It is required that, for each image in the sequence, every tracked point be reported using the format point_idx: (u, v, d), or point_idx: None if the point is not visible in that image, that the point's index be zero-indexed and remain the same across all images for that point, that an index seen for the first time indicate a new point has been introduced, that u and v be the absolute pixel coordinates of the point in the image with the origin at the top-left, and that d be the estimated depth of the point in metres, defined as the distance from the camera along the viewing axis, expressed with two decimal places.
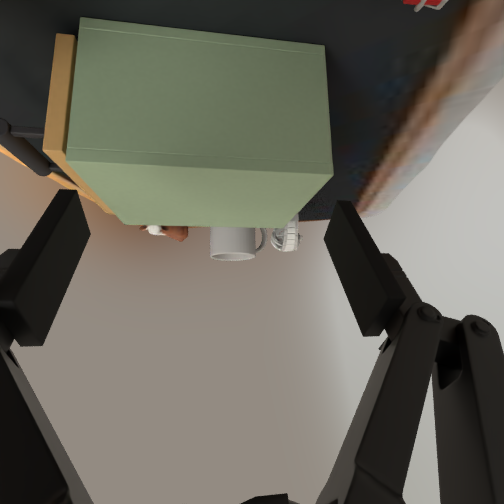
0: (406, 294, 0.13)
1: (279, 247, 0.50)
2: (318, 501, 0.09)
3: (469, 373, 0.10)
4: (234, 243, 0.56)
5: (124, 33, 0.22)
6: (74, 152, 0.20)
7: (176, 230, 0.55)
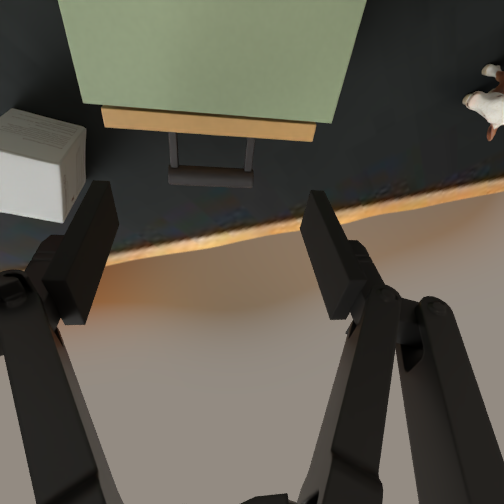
0: (370, 278, 0.13)
1: None
2: (301, 493, 0.09)
3: (430, 354, 0.10)
4: None
5: None
6: None
7: None
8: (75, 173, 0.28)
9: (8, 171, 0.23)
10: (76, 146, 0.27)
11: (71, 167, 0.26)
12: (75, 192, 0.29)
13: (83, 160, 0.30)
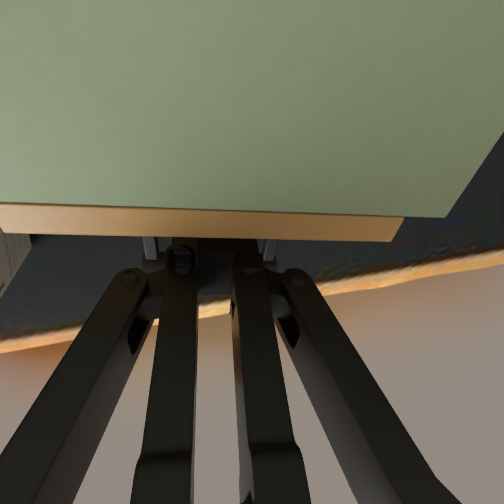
0: (247, 252, 0.14)
1: None
2: (240, 492, 0.09)
3: (305, 328, 0.11)
4: None
5: None
6: None
7: None
8: (2, 251, 0.18)
9: None
10: None
11: None
12: (7, 274, 0.19)
13: None
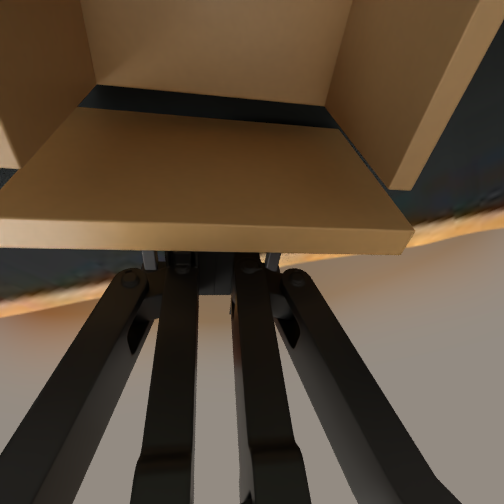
0: (247, 253, 0.14)
1: None
2: (240, 492, 0.09)
3: (305, 328, 0.11)
4: None
5: None
6: None
7: None
8: None
9: None
10: None
11: None
12: None
13: None
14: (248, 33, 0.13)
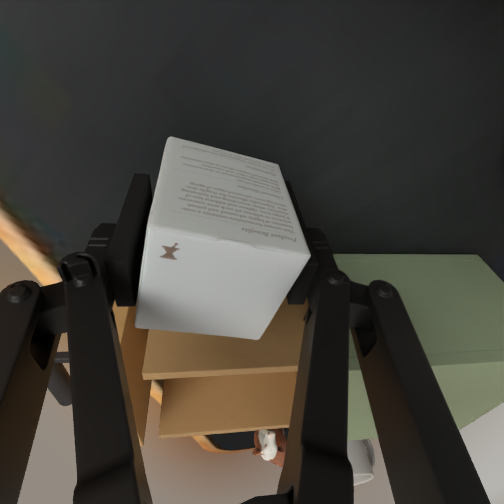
0: (325, 263, 0.14)
1: None
2: (279, 488, 0.09)
3: (383, 338, 0.11)
4: (351, 461, 0.47)
5: (336, 261, 0.27)
6: None
7: None
8: None
9: (250, 292, 0.13)
10: None
11: None
12: None
13: None
14: None
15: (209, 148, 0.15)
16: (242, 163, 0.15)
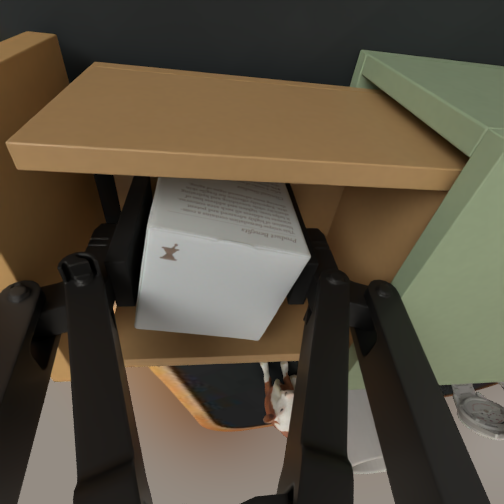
0: (325, 263, 0.14)
1: (494, 432, 0.30)
2: (279, 488, 0.09)
3: (383, 338, 0.11)
4: None
5: (424, 60, 0.15)
6: None
7: None
8: None
9: (250, 292, 0.13)
10: None
11: None
12: None
13: None
14: None
15: None
16: None
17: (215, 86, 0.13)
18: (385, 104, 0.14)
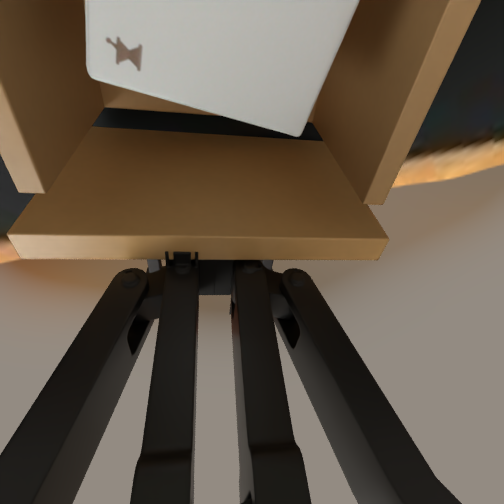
0: None
1: None
2: (240, 492, 0.09)
3: (305, 328, 0.11)
4: None
5: None
6: None
7: None
8: None
9: None
10: None
11: None
12: None
13: None
14: None
15: None
16: None
17: None
18: None
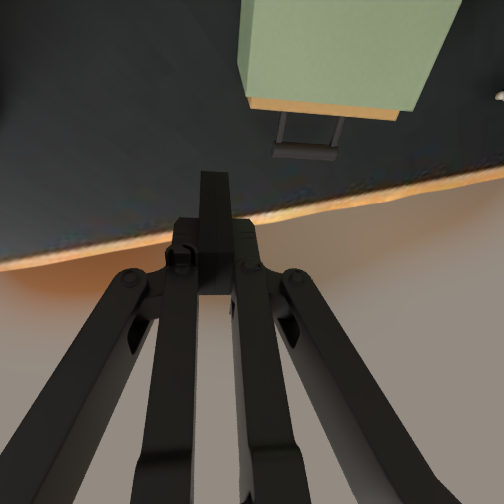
0: (247, 252, 0.14)
1: None
2: (240, 492, 0.09)
3: (305, 328, 0.11)
4: None
5: (240, 31, 0.30)
6: (245, 87, 0.25)
7: None
8: None
9: None
10: None
11: None
12: None
13: None
14: None
15: None
16: None
17: None
18: None
